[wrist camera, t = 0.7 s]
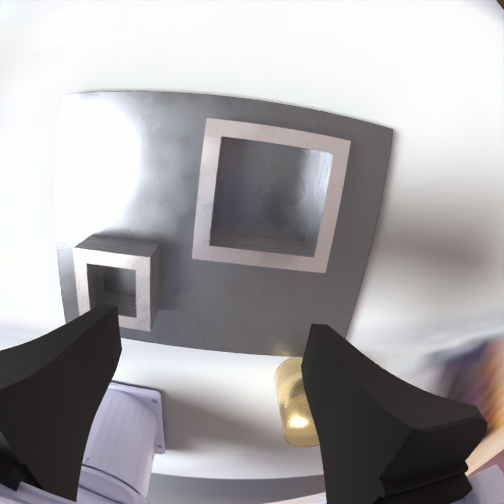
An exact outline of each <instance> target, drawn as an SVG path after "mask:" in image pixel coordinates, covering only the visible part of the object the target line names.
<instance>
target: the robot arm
mask: <svg viewBox="0 0 504 504" xmlns="http://www.w3.org/2000/svg"><path fill="white" fill-rule="evenodd" d="M121 351H122V347H121V338H120V329H119V318H118V307H117V306H116V305H109V304H101V305H99V306H97V307H95V308H93V309H91V310H89V311H88V312H86V313H84V314H82V315H81V316H79V317H77V318H75V319H74V320H72V321H70V322H69V323H67V324H65V325H63V326H61V327H59V328H57V329H55V330H53V331H51V332H50V333H48V334H46V335H43V336H41V337H39V338H37V339H34V340H32V341H29V342H27V343H24V344H21V345H18V346H15V347H11V348H8V349H5V350H1V351H0V504H149V499H148V498H146V496H147V491H148V485H149V480H150V475H151V470H152V465H153V460H154V455H155V453H157V454H164V453H165V442H164V431H163V418H162V404H161V394H160V393H159V392H158V391H155V390H149V389H143V388H138V387H132V386H127V385H122V384H117V383H112V382H111V380H112V378H113V376H114V373H115V371H116V368H117V365H118V362H119V358H120V355H121ZM301 372H302V379H303V386H304V390H305V394H306V398H307V401H308V404H309V408H310V411H311V414H312V418H313V421H314V424H315V428H316V431H317V435H318V439H319V443H320V449H321V456H322V462H323V470H324V477H325V487H326V499H327V504H504V475H503V473H502V472H501V470H500V469H499V467H498V465H494V466H492V467H489V468H487V469H485V470H483V471H481V472H478V473H476V474H474V475H473V476H471V477H470V478H469V479H467V477H466V475H465V472H467V470H468V465H467V464H466V462H465V460H466V459H467V458H468V457H469V456H470V454H471V453H472V452H473V451H474V449H475V448H476V447H477V446H478V444H479V443H480V442H481V440H482V439H483V437H484V435H485V433H486V430H487V422H486V420H485V419H484V417H483V416H482V414H481V413H480V412H479V410H478V409H477V407H476V406H474V405H469V404H465V403H461V402H457V401H453V400H449V399H446V398H443V397H440V396H437V395H434V394H432V393H429V392H426V391H424V390H422V389H420V388H417V387H415V386H413V385H411V384H409V383H407V382H405V381H403V380H401V379H399V378H398V377H396V376H394V375H393V374H391V373H389V372H388V371H386V370H384V369H383V368H381V367H380V366H379V365H377V364H376V363H374V362H373V361H372V360H370V359H369V358H368V357H366V356H365V355H364V354H362V353H361V352H360V351H359V350H357V349H356V348H355V347H354V346H353V345H351V344H350V343H349V342H348V341H347V340H346V339H344V338H343V337H342V336H341V335H340V334H338V333H337V332H336V331H335V330H334V329H332V328H331V327H330V326H328V325H327V324H311V328H310V332H309V336H308V340H307V344H306V348H305V352H304V356H303V360H302V364H301ZM154 399H156V400H154Z"/></svg>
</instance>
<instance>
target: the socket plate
mask: <svg viewBox="0 0 504 504" xmlns="http://www.w3.org/2000/svg"><path fill="white" fill-rule="evenodd" d="M392 135H393V129H390V128H387V127H383V126H380V125H376V124H373V123H369V122H365V121H361V120H357V119H353V118H349V117H345V116H340V115H336V114H331V113H327V112H322V111H317V110H312V109H307V108H302V107H296V106H291V105H285V104H279V103H273V102H266V101H259V100H252V99H244V98H236V97H227V96H217V95H205V94H192V93H175V92H147V91H114V92H86V93H70V94H62V99H61V107H60V116H59V125H58V137H57V151H56V173H55V219H56V241H57V255H58V267H59V277H60V286H61V294H62V301H63V308H64V315H65V321H66V324H67V323H69V322H70V321H72V320H74V319H75V318H77V317H79V316H81V315H82V314H84V313H86V312H88V311H89V310H91V309H93V308H95V307H97V306H99V305H101V304H109V305H116V306H117V307H118V318H119V329H120V338H126V339H132V340H138V341H144V342H150V343H157V344H164V345H171V346H179V347H186V348H195V349H203V350H212V351H222V352H232V353H244V354H257V355H271V356H288V357H303V356H304V352H305V348H306V344H307V340H308V336H309V332H310V328H311V324H327V325H328V326H330V327H331V328H332V329H334V330H335V331H336V332H337V333H338V334H340V335H341V336H342V337H343V338H345V335H346V332H347V329H348V326H349V323H350V319H351V316H352V313H353V310H354V306H355V303H356V299H357V296H358V292H359V289H360V285H361V282H362V278H363V274H364V271H365V267H366V263H367V259H368V255H369V251H370V247H371V243H372V239H373V235H374V230H375V226H376V221H377V217H378V212H379V208H380V203H381V198H382V193H383V188H384V183H385V177H386V172H387V166H388V160H389V154H390V148H391V141H392Z"/></svg>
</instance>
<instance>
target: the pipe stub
mask: <svg viewBox="0 0 504 504" xmlns="http://www.w3.org/2000/svg"><path fill="white" fill-rule="evenodd" d="M302 360H303V357H292V358H290V359H288V360H286V361H284V362H283V363H282V364H281V365H280V366H279V367H278V368H277V370H276V372H275V384H276V391H277V397H278V403H279V410H280V416H281V422H282V429H283V435H284V439H285V440H286V442H288V443H289V444H291V445H293V446H297V447H313V446H318V445H320V443H319V439H318V435H317V431H316V428H315V424H314V421H313V418H312V414H311V411H310V408H309V404H308V401H307V398H306V394H305V390H304V386H303V379H302V372H301V364H302Z"/></svg>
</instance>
